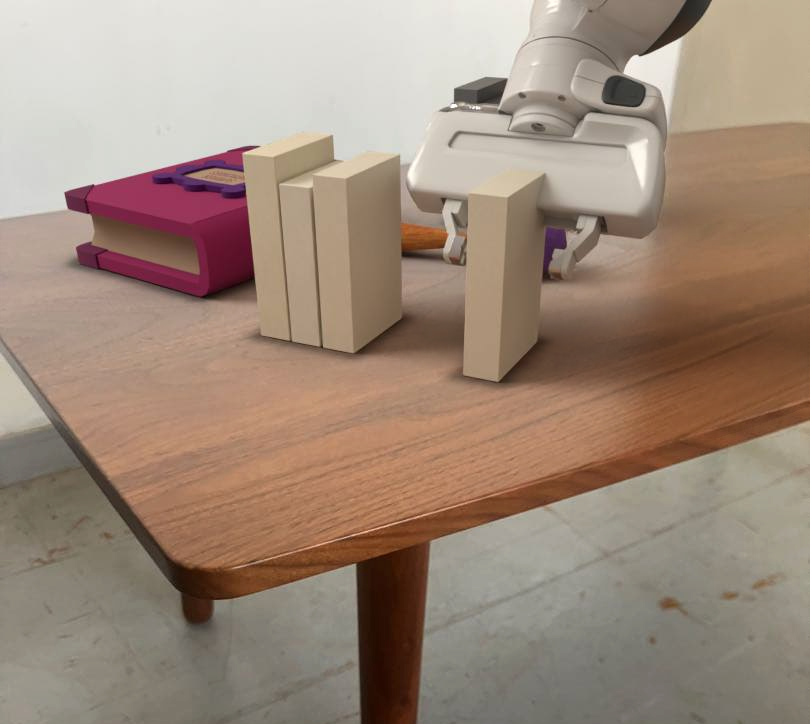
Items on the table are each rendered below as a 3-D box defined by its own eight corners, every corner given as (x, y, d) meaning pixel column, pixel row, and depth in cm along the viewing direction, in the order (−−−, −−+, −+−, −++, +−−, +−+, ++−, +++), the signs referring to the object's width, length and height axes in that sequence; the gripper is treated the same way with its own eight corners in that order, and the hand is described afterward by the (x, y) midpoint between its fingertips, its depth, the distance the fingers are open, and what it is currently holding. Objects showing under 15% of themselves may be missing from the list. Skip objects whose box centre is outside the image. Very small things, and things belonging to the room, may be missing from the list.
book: (389, 231, 105) (388, 161, 101) (211, 301, 87) (200, 220, 83) (256, 203, 116) (250, 139, 111) (72, 261, 97) (56, 187, 93)
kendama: (398, 205, 100) (576, 211, 91) (398, 262, 102) (572, 273, 94) (371, 208, 95) (557, 214, 86) (372, 267, 97) (553, 279, 89)
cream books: (402, 317, 83) (400, 140, 75) (353, 353, 76) (345, 164, 68) (314, 302, 87) (302, 131, 78) (260, 335, 80) (241, 152, 71)
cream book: (537, 341, 78) (550, 169, 70) (498, 382, 72) (508, 197, 64) (504, 336, 79) (513, 165, 71) (462, 375, 73) (468, 192, 65)
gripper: (425, 75, 73) (371, 231, 72) (683, 91, 66) (629, 266, 64) (447, 125, 79) (398, 270, 78) (686, 145, 72) (637, 307, 70)
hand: (504, 269), depth 71 cm, fingers open, 7 cm apart
